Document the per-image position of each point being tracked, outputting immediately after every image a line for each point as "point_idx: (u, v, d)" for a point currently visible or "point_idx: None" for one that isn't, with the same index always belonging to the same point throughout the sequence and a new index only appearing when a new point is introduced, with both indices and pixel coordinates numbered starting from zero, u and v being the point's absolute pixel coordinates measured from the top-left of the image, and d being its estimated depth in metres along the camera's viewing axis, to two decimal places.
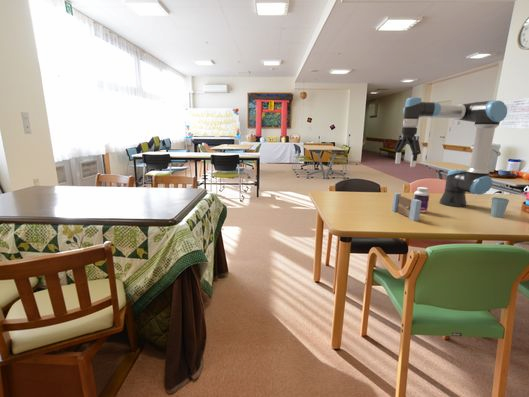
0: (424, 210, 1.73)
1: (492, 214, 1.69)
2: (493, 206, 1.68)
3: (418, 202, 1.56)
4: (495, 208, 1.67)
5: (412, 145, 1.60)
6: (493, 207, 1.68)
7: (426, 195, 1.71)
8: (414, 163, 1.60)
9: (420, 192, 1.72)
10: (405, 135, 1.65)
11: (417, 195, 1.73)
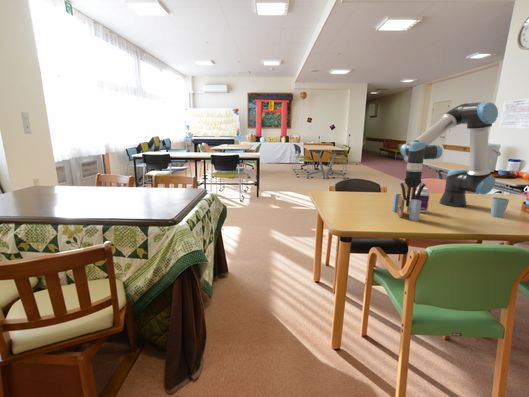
0: (424, 210, 1.73)
1: (492, 214, 1.69)
2: (493, 206, 1.68)
3: (418, 202, 1.56)
4: (495, 208, 1.67)
5: (407, 190, 1.63)
6: (493, 207, 1.68)
7: (426, 195, 1.71)
8: (408, 209, 1.64)
9: None
10: None
11: None
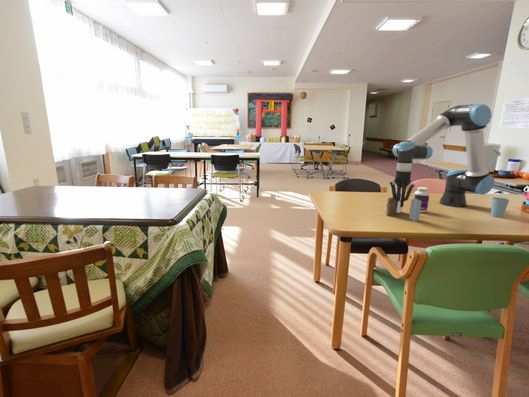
0: (424, 210, 1.73)
1: (492, 214, 1.69)
2: (493, 206, 1.68)
3: (418, 202, 1.56)
4: (495, 208, 1.67)
5: None
6: (493, 207, 1.68)
7: (426, 195, 1.71)
8: None
9: (420, 192, 1.72)
10: None
11: (417, 195, 1.73)
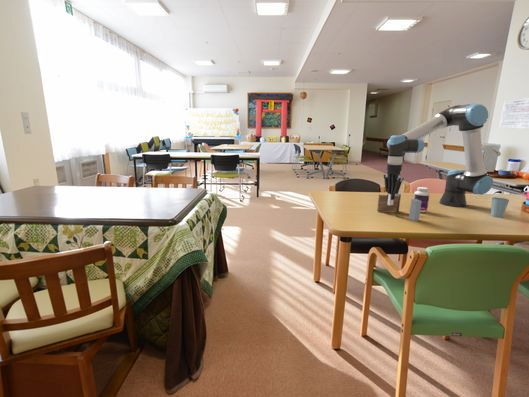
0: (424, 210, 1.73)
1: (492, 214, 1.69)
2: (493, 206, 1.68)
3: (418, 202, 1.56)
4: (495, 208, 1.67)
5: None
6: (493, 207, 1.68)
7: (426, 195, 1.71)
8: None
9: (420, 192, 1.72)
10: None
11: (417, 195, 1.73)
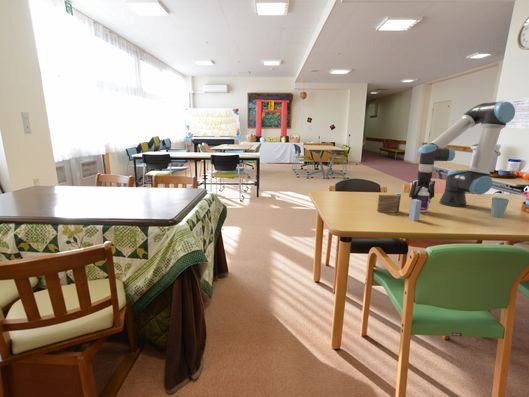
0: (424, 210, 1.73)
1: (492, 214, 1.69)
2: (493, 206, 1.68)
3: (418, 202, 1.56)
4: (495, 208, 1.67)
5: (416, 189, 1.74)
6: (493, 207, 1.68)
7: (426, 195, 1.71)
8: None
9: (420, 192, 1.72)
10: None
11: (417, 195, 1.73)
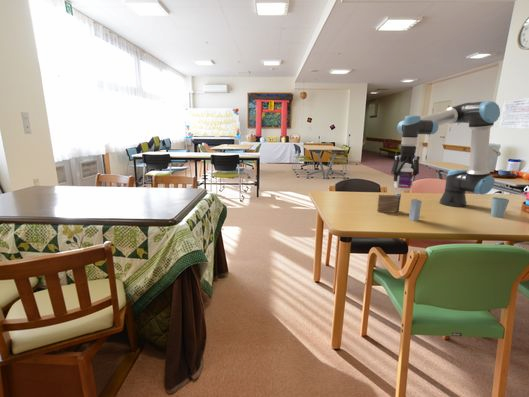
0: (407, 188, 1.59)
1: (492, 214, 1.69)
2: (493, 206, 1.68)
3: (418, 202, 1.56)
4: (495, 208, 1.67)
5: (399, 165, 1.60)
6: (493, 207, 1.68)
7: (409, 171, 1.57)
8: (396, 184, 1.61)
9: (403, 168, 1.58)
10: None
11: (400, 171, 1.59)
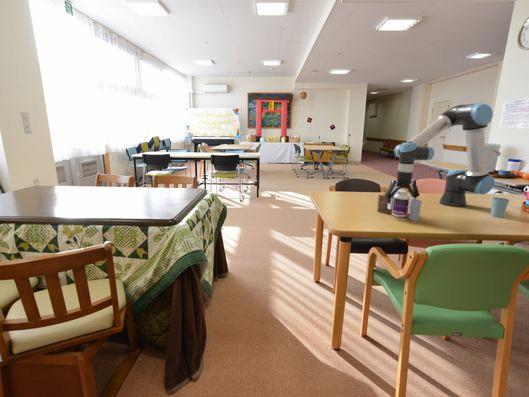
0: (404, 215, 1.63)
1: (492, 214, 1.69)
2: (493, 206, 1.68)
3: (418, 202, 1.56)
4: (495, 208, 1.67)
5: (394, 188, 1.63)
6: (493, 207, 1.68)
7: (405, 199, 1.61)
8: (389, 206, 1.63)
9: (399, 196, 1.62)
10: None
11: (396, 199, 1.63)
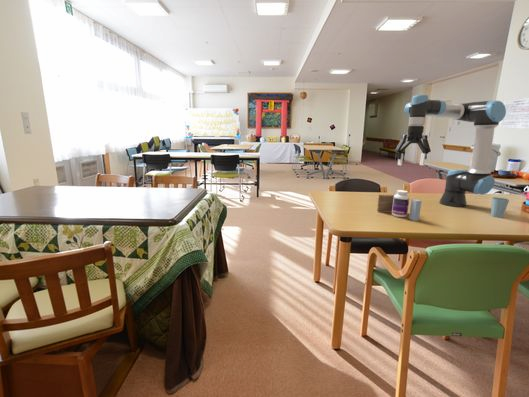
0: (404, 215, 1.63)
1: (492, 214, 1.69)
2: (493, 206, 1.68)
3: (418, 202, 1.56)
4: (495, 208, 1.67)
5: (404, 144, 1.58)
6: (493, 207, 1.68)
7: (406, 199, 1.61)
8: (400, 162, 1.59)
9: (399, 195, 1.62)
10: None
11: (396, 199, 1.63)
